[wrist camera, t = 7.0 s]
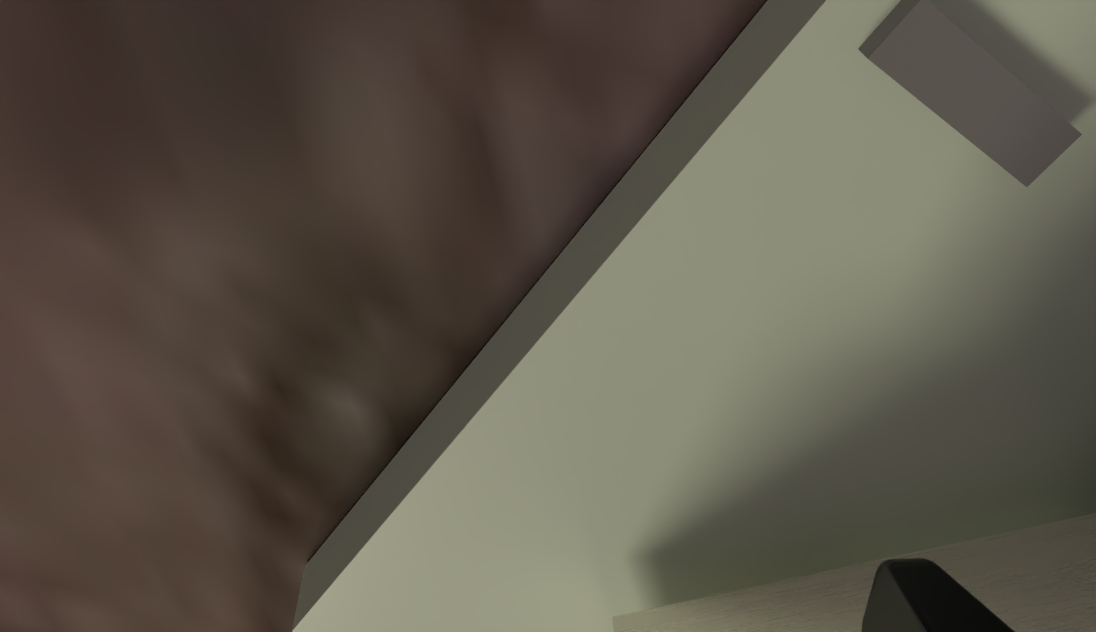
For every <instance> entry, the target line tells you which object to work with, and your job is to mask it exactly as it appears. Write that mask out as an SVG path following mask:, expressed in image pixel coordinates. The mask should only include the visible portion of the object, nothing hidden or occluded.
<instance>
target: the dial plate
mask: <svg viewBox="0 0 1096 632" xmlns="http://www.w3.org/2000/svg"><path fill="white" fill-rule="evenodd" d="M1093 513H1096V0H768V1H767V2H766V3H765V4H764V5H763V7H762V8H761V9H760V10H759V12H758V13H757V14H756V15H755V16H754V18H753V19H752V20H751V21H750V23H749V24H748V25H747V26H746V27H745V29H744V30H743V31H742V32H741V34H740V35H739V36H738V37H737V39H736V40H735V41H734V42H733V43H732V45H731V46H730V47H729V48H728V50H727V51H726V52H725V53H724V54H723V56H722V57H721V58H720V59H719V61H718V62H717V63H716V64H715V65H714V67H713V68H712V69H711V70H710V72H709V73H708V74H707V75H706V76H705V78H704V79H703V80H702V81H701V83H700V84H699V85H698V86H697V87H696V89H695V90H694V91H693V92H692V94H691V95H690V96H689V97H688V98H687V100H686V101H685V102H684V103H683V105H682V106H681V107H680V108H679V109H678V111H677V112H676V113H675V114H674V116H673V117H672V118H671V119H670V120H669V122H668V123H667V124H666V125H665V127H664V128H663V129H662V130H661V131H660V133H659V134H658V135H657V136H656V138H655V139H654V140H653V141H652V142H651V144H650V145H649V146H648V147H647V149H646V150H645V151H644V152H643V153H642V155H641V156H640V157H639V158H638V160H637V161H636V162H635V163H634V164H633V166H632V167H631V168H630V169H629V171H628V172H627V173H626V174H625V175H624V177H623V178H622V179H621V180H620V182H619V183H618V184H617V185H616V186H615V188H614V189H613V190H612V191H611V193H610V194H609V195H608V196H607V197H606V199H605V200H604V201H603V202H602V204H601V205H600V206H599V207H598V208H597V210H596V211H595V212H594V213H593V215H592V216H591V217H590V218H589V219H588V221H587V222H586V223H585V224H584V226H583V227H582V228H581V229H580V230H579V232H578V233H577V234H576V235H575V237H574V238H573V239H572V240H571V241H570V243H569V244H568V245H567V246H566V248H565V249H564V250H563V251H562V252H561V254H560V255H559V256H558V257H557V259H556V260H555V261H554V262H553V263H552V265H551V266H550V267H549V268H548V270H547V271H546V272H545V273H544V274H543V276H542V277H541V278H540V279H539V281H538V282H537V283H536V284H535V285H534V287H533V288H532V289H531V290H530V292H529V293H528V294H527V295H526V297H525V298H524V299H523V300H522V301H521V303H520V304H519V305H518V306H517V308H516V309H515V310H514V311H513V312H512V314H511V315H510V316H509V317H508V319H507V320H506V321H505V322H504V323H503V325H502V326H501V327H500V328H499V330H498V331H497V332H496V333H495V334H494V336H493V337H492V338H491V339H490V341H489V342H488V343H487V344H486V345H485V347H484V348H483V349H482V350H481V352H480V353H479V354H478V355H477V356H476V358H475V359H474V360H473V361H472V363H471V364H470V365H469V366H468V367H467V369H466V370H465V371H464V372H463V374H462V375H461V376H460V377H459V378H458V380H457V381H456V382H455V383H454V385H453V386H452V387H451V388H450V389H449V391H448V392H447V393H446V394H445V396H444V397H443V398H442V399H441V400H440V402H439V403H438V404H437V405H436V407H435V408H434V409H433V410H432V411H431V413H430V414H429V415H428V416H427V418H426V419H425V420H424V421H423V422H422V424H421V425H420V426H419V427H418V429H417V430H416V431H415V432H414V433H413V435H412V436H411V437H410V438H409V440H408V441H407V442H406V443H405V444H404V446H403V447H402V448H401V449H400V451H399V452H398V453H397V454H396V455H395V457H394V458H393V459H392V460H391V462H390V463H389V464H388V465H387V466H386V468H385V469H384V470H383V471H382V473H381V474H380V475H379V476H378V477H377V479H376V480H375V481H374V482H373V484H372V485H371V486H370V487H369V488H368V490H367V491H366V492H365V493H364V495H363V496H362V497H361V498H360V499H359V501H358V502H357V503H356V504H355V506H354V507H353V508H352V509H351V510H350V512H349V513H348V514H347V515H346V517H345V518H344V519H343V520H342V521H341V523H340V524H339V525H338V526H337V528H336V529H335V530H334V531H333V532H332V534H331V535H330V536H329V537H328V539H327V540H326V541H325V542H324V543H323V545H322V546H321V547H320V548H319V550H318V551H317V552H316V553H315V555H314V556H313V557H312V558H311V559H310V561H309V562H308V563H307V564H306V566H305V567H304V572H303V577H302V583H301V588H300V593H299V598H298V603H297V608H296V613H295V619H294V624H293V629H292V631H293V632H614V628H613V621H612V617H614V616H618V615H623V614H628V613H632V612H637V611H642V610H646V609H651V608H656V607H660V606H665V605H670V604H674V603H679V602H684V601H688V600H693V599H698V598H702V597H707V596H712V595H716V594H721V593H725V592H730V591H735V590H739V589H744V588H749V587H753V586H758V585H763V584H767V583H772V582H777V581H781V580H786V579H791V578H795V577H800V576H805V575H809V574H814V573H819V572H823V571H828V570H833V569H837V568H842V567H847V566H851V565H856V564H861V563H865V562H870V561H875V560H879V559H884V558H889V557H893V556H898V555H902V554H907V553H912V552H916V551H921V550H926V549H930V548H935V547H940V546H944V545H949V544H954V543H958V542H963V541H968V540H972V539H977V538H982V537H986V536H991V535H996V534H1000V533H1005V532H1010V531H1014V530H1019V529H1024V528H1028V527H1033V526H1038V525H1042V524H1047V523H1052V522H1056V521H1061V520H1066V519H1070V518H1075V517H1079V516H1084V515H1089V514H1093Z"/></svg>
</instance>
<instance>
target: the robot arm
mask: <svg viewBox="0 0 1096 632" xmlns="http://www.w3.org/2000/svg"><path fill="white" fill-rule="evenodd" d="M862 632H1015V631H1014V630H1012V629H1011V628H1010V627H1009V626H1008V625H1007V624H1006V623H1004V622H1003V621H1002V620H1001V619H1000V618H999V617H997V616H996V615H995V614H994V613H993V612H992V611H990V610H989V609H988V608H987V607H986V606H985V605H984V604H982V603H981V602H980V601H979V600H978V599H977V598H975V597H974V596H973V595H972V594H971V593H970V592H969V591H967V590H966V589H965V588H964V587H963V586H962V585H960V584H959V583H958V582H957V581H956V580H955V579H954V578H952V577H951V576H950V575H949V574H948V573H947V572H945V571H944V570H943V569H942V568H941V567H940V566H938V565H937V564H936V563H934V562H932V561H930V560H928V559H924V558H909V559H888V560H885V561H883V562H882V563H881V564H880V565H879V566H878V568H877V571H876V574H875V577H874V581H873V584H872V588H871V592H870V595H869V599H868V602H867V606H866V610H865V613H864V617H863V621H862Z"/></svg>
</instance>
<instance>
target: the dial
mask: <svg viewBox="0 0 1096 632" xmlns="http://www.w3.org/2000/svg"><path fill="white" fill-rule="evenodd" d="M909 558H924V559H928V560H930V561H932V562H934V563H936V564H937V565H938V566H940V567H941V568H942V569H943V570H944V571H945V572H947V573H948V574H949V575H950V576H951V577H952V578H954V579H955V580H956V581H957V582H958V583H959V584H960V585H962V586H963V587H964V588H965V589H966V590H967V591H969V592H970V593H971V594H972V595H973V596H974V597H975V598H977V599H978V600H979V601H980V602H981V603H982V604H984V605H985V606H986V607H987V608H988V609H989V610H990V611H992V612H993V613H994V614H995V615H996V616H997V617H999V618H1000V619H1001V620H1002V621H1003V622H1004V623H1006V624H1007V625H1008V626H1009V627H1010V628H1011V629H1012V630H1014V631H1015V632H1096V513H1093V514H1089V515H1084V516H1079V517H1075V518H1070V519H1066V520H1061V521H1056V522H1052V523H1047V524H1042V525H1038V526H1033V527H1028V528H1024V529H1019V530H1014V531H1010V532H1005V533H1000V534H996V535H991V536H986V537H982V538H977V539H972V540H968V541H963V542H958V543H954V544H949V545H944V546H940V547H935V548H930V549H926V550H921V551H916V552H912V553H907V554H902V555H898V556H893V557H889V558H884V559H879V560H875V561H870V562H865V563H861V564H856V565H851V566H847V567H842V568H837V569H833V570H828V571H823V572H819V573H814V574H809V575H805V576H800V577H795V578H791V579H786V580H781V581H777V582H772V583H767V584H763V585H758V586H753V587H749V588H744V589H739V590H735V591H730V592H725V593H721V594H716V595H712V596H707V597H702V598H698V599H693V600H688V601H684V602H679V603H674V604H670V605H665V606H660V607H656V608H651V609H646V610H642V611H637V612H632V613H628V614H623V615H618V616H614V617H612V621H613V628H614V632H862V621H863V617H864V613H865V610H866V606H867V602H868V599H869V595H870V592H871V588H872V584H873V581H874V577H875V574H876V571H877V568H878V566H879V565H880V564H881V563H882V562H883V561H885V560H888V559H909Z"/></svg>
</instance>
